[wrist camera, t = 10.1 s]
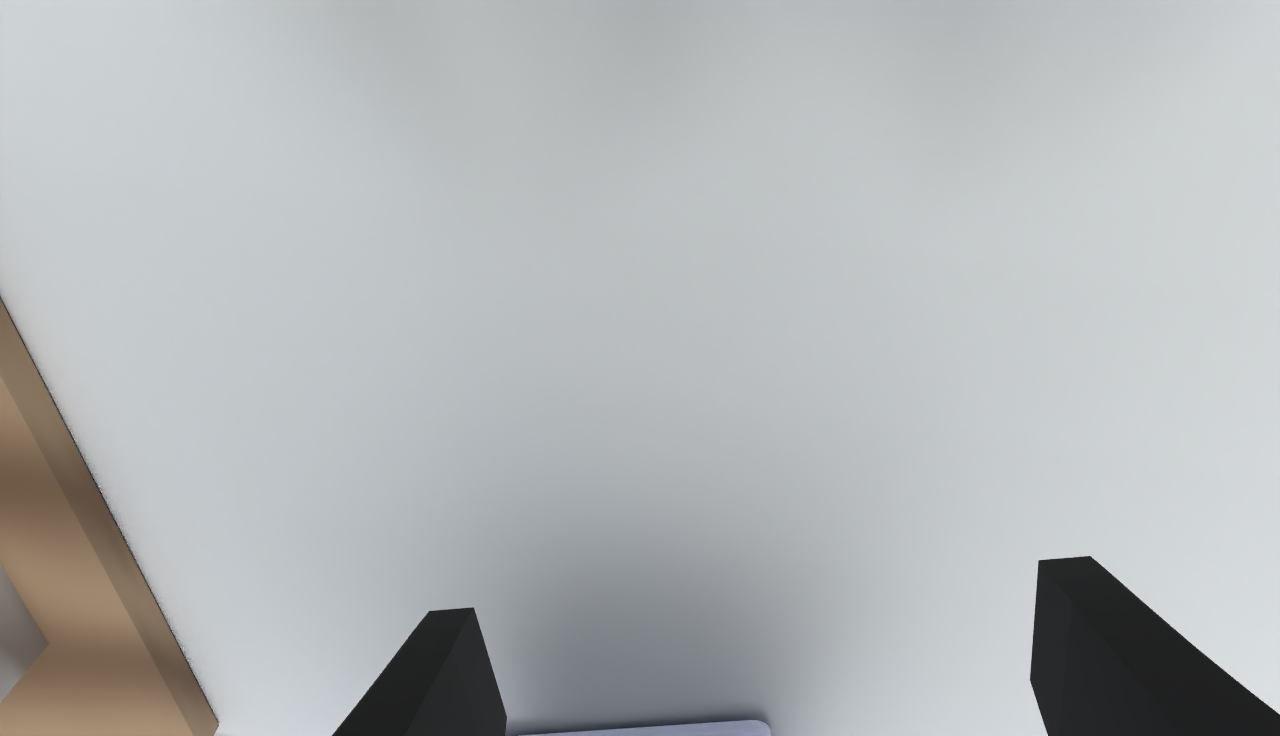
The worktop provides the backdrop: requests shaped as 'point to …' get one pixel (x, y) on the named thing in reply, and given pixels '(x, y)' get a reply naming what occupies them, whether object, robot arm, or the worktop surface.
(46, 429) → the hinge board
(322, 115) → the worktop surface
